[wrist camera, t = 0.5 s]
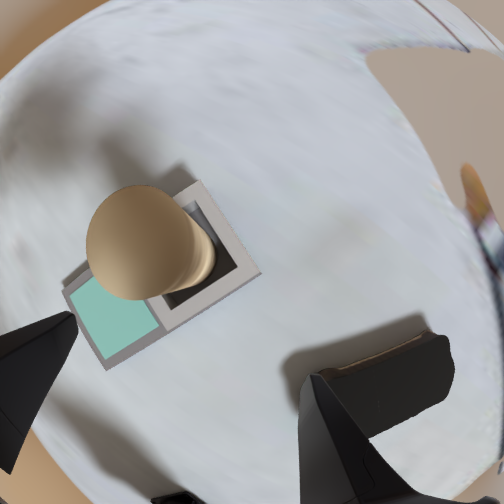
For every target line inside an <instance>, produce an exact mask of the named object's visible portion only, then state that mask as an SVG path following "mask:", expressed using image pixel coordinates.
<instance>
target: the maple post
mask: <svg viewBox="0 0 504 504" xmlns="http://www.w3.org/2000/svg"><path fill="white" fill-rule="evenodd" d="M86 253H87V259H88V263H89V266H90V269H91V271H92V273H93V275H94V277H95V278H96V280H97V281H98V283H99V284H100V285H101V286H102V287H103V288H104V289H105V290H107V291H108V292H109V293H111V294H112V295H114V296H116V297H119V298H121V299H125V300H133V301H137V300H144V299H149V298H152V297H156V296H159V295H163V294H167V293H170V292H174V291H177V290H181V289H184V288H188V287H191V286H195V285H198V284H200V283H202V282H204V281H205V280H207V279H208V278H209V277H210V276H211V275H212V273H213V272H214V270H215V267H216V264H217V259H218V254H217V249H216V246H215V243H214V241H213V240H212V238H211V237H210V236H209V235H208V234H207V233H206V232H205V231H204V230H203V229H202V228H201V227H200V226H199V225H198V224H197V223H196V222H195V221H194V220H193V219H192V218H191V217H190V216H189V215H188V214H187V213H186V212H185V211H184V210H183V209H182V208H181V207H180V206H179V205H178V204H177V203H176V202H175V201H174V200H173V199H172V198H171V197H170V196H169V195H167V194H166V193H165V192H163V191H161V190H159V189H157V188H154V187H151V186H146V185H134V186H129V187H125V188H123V189H120V190H118V191H116V192H115V193H113V194H112V195H110V196H109V197H108V198H107V199H105V200H104V201H103V203H102V204H101V205H100V206H99V207H98V209H97V210H96V212H95V214H94V215H93V217H92V220H91V222H90V225H89V228H88V232H87V238H86Z"/></svg>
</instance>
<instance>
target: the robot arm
mask: <svg viewBox="0 0 504 504" xmlns="http://www.w3.org/2000/svg"><path fill="white" fill-rule="evenodd" d="M77 335H78V325H77V320H76V316H75V314H73V313H71V312H69V311H64V312H61V313H58V314H56V315H53V316H50V317H48V318H45V319H43V320H40V321H37V322H35V323H32V324H30V325H27V326H24V327H22V328H19V329H17V330H14V331H12V332H9V333H6V334H4V335H1V336H0V468H1V469H2V470H4V471H5V472H6V473H8V474H9V475H10V474H11V472H12V470H13V467H14V465H15V462H16V460H17V457H18V455H19V452H20V450H21V447H22V445H23V443H24V440H25V438H26V436H27V434H28V431H29V429H30V427H31V425H32V423H33V421H34V419H35V417H36V415H37V413H38V411H39V409H40V407H41V405H42V403H43V401H44V399H45V397H46V395H47V393H48V391H49V390H50V388H51V386H52V384H53V382H54V381H55V379H56V377H57V375H58V374H59V372H60V370H61V368H62V367H63V365H64V363H65V361H66V359H67V357H68V354H69V352H70V350H71V348H72V346H73V344H74V342H75V340H76V338H77ZM369 442H370V441H369V440H368V438H367V437H366V436H365V434H364V433H363V432H362V430H361V429H360V428H359V426H358V425H357V424H356V422H355V421H354V420H353V418H352V417H351V416H350V414H349V413H348V412H347V410H346V409H345V408H344V406H343V405H342V403H341V402H340V401H339V399H338V398H337V397H336V395H335V394H334V393H333V391H332V390H331V388H330V387H329V386H328V384H327V383H326V382H325V380H324V379H323V378H322V376H321V375H319V374H312V373H311V374H309V375H308V376H307V378H306V380H305V382H304V383H303V385H302V387H301V391H300V404H299V418H298V445H299V470H300V504H500V502H499V501H498V500H497V499H495V498H493V497H489V496H485V497H483V498H481V499H480V500H478V501H476V502H472V503H463V502H457V501H451V500H446V499H441V498H436V497H432V496H428V495H424V494H421V493H419V492H417V491H416V490H414V489H413V488H412V487H411V486H410V485H408V484H407V483H406V482H405V481H404V480H403V479H402V478H401V477H400V476H399V475H398V474H397V473H396V472H395V471H394V469H393V468H392V467H391V466H390V465H389V464H388V463H387V462H386V461H385V460H384V459H383V457H382V456H381V455H380V454H379V453H378V451H377V450H376V449H375V447H374V446H373V445H372V444H371V443H369ZM150 502H151V503H152V504H202V503H201V502H200V501H199V500H197V499H196V498H195V497H193V496H192V495H191V494H190V493H188V492H180V493H176V494H172V495H168V496H163V497H159V498H154V499H151V501H150ZM0 504H8V503H7V502H5V501H4V500H3V499H2V498H1V497H0Z"/></svg>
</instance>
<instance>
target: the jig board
mask: <svg viewBox="0 0 504 504" xmlns="http://www.w3.org/2000/svg"><path fill="white" fill-rule="evenodd" d="M172 199H173V200H174V201H175V202H176V203H177V204H178V205H179V206H180V207H181V208H182V209H183V210H184V211H185V212H186V213H187V214H188V215H189V216H190V217H191V218H192V219H193V220H194V221H195V222H196V223H197V224H198V225H199V226H200V227H201V228H202V229H203V230H204V231H205V232H206V233H207V234H208V235H209V236H210V237H211V238H212V240H213V241H214V243H215V246H216V249H217V254H218V259H217V264H216V267H215V270H214V272H213V273H212V275H211V276H210V277H209V278H208V279H207V280H205V281H204V282H202V283H200V284H198V285H195V286H191V287H188V288H184V289H181V290H177V291H174V292H170V293H167V294H163V295H159V296H156V297H152V298H149V299H144V300H137V301H133V300H125V299H121V298H119V297H116V296H114V295H112V294H111V293H109V292H108V291H107V290H105V289H104V288H103V287H102V286H101V285H100V284H99V283H98V281H97V280H96V278H95V277H94V275H93V273H92V271H91V269H90V267H89V268H88V269H87V270H86V271H84V272H83V273H82V274H81V275H80V276H78V277H77V278H76V279H75V280H74V281H72V282H71V283H70V284H69V285H68V286H67V287H65V288H64V289H63V290H62V294H63V296H64V298H65V300H66V302H67V304H68V306H69V308H70V310H71V312H72V313H73V314H75V316H76V320H77V323H78V325H79V327H80V329H81V331H82V333H83V334H84V336H85V338H86V340H87V341H88V343H89V345H90V346H91V348H92V350H93V351H94V353H95V355H96V356H97V358H98V359H99V361H100V363H101V364H102V366H103V367H104V369H105V370H106V371H107V370H109V369H111V368H112V367H114V366H116V365H118V364H119V363H121V362H123V361H124V360H126V359H128V358H129V357H131V356H133V355H134V354H136V353H137V352H139V351H141V350H142V349H144V348H146V347H147V346H149V345H151V344H152V343H154V342H156V341H157V340H159V339H160V338H162V337H164V336H165V335H167V334H169V333H170V332H172V331H173V330H175V329H177V328H178V327H180V326H181V325H183V324H185V323H186V322H188V321H189V320H191V319H193V318H194V317H196V316H197V315H199V314H200V313H202V312H204V311H205V310H207V309H208V308H210V307H211V306H213V305H215V304H216V303H218V302H219V301H221V300H222V299H224V298H226V297H227V296H229V295H230V294H232V293H233V292H235V291H236V290H238V289H239V288H241V287H243V286H244V285H246V284H247V283H249V282H250V281H252V280H253V279H255V278H256V277H258V276H259V275H261V274H262V273H261V272H260V270H259V269H258V267H257V266H256V264H255V262H254V261H253V259H252V258H251V256H250V255H249V253H248V252H247V250H246V249H245V247H244V246H243V244H242V243H241V241H240V240H239V238H238V236H237V235H236V233H235V232H234V230H233V229H232V227H231V226H230V224H229V223H228V221H227V220H226V218H225V217H224V215H223V213H222V212H221V210H220V209H219V207H218V206H217V204H216V203H215V201H214V200H213V198H212V197H211V195H210V194H209V192H208V190H207V189H206V187H205V186H204V184H203V183H202V181H201V180H198V181H197V182H195V183H193V184H192V185H190V186H189V187H187V188H186V189H184V190H183V191H181V192H180V193H178V194H177V195H175V196H174V197H172Z"/></svg>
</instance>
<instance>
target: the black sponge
mask: <svg viewBox="0 0 504 504" xmlns="http://www.w3.org/2000/svg"><path fill="white" fill-rule="evenodd" d="M454 373H455V366H454V361H453V359H452V356H451V352H450V343H449V339H448V337H447V336H445V335H437V334H435V333H433V332H432V331H429V330H427V331H424V332H423V333H421V334H420V335H419V336H417V337H415V338H413V339H411V340H410V341H407V342H405V343H403V344H401V345H398V346H396V347H394V348H391V349H389V350H387V351H384V352H382V353H380V354H377V355H375V356H372V357H368V358H366V359H363V360H361V361H358V362H355V363H353V364H350V365H348V366H345V367H342V368H328V369H325V370H322V371H320V372H318V373H317V374H319V375H321V376H322V378H323V379H324V380H325V382H326V383H327V384H328V386H329V387H330V388H331V390H332V391H333V393H334V394H335V395H336V397H337V398H338V399H339V401H340V402H341V403H342V405H343V406H344V408H345V409H346V410H347V412H348V413H349V414H350V416H351V417H352V418H353V420H354V421H355V422H356V424H357V425H358V426H359V428H360V429H361V430H362V432H363V433H364V434H365V436H366V437H367V438H368V439H369V438H371V437H374V436H375V435H377V434H379V433H381V432H383V431H386V430H388V429H390V428H392V427H393V426H395V425H398V424H399V423H402V422H404V421H405V420H408V419H409V418H411V417H414V416H416V415H418V414H419V413H420V412H422V411H424V410H425V409H427V408H429V407H431V406H433V405H435V404H438V403H440V402H442V401H443V400H444V399H445V398H446V397H447V395H448V394H449V391H450V388H451V385H452V382H453V378H454Z"/></svg>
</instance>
